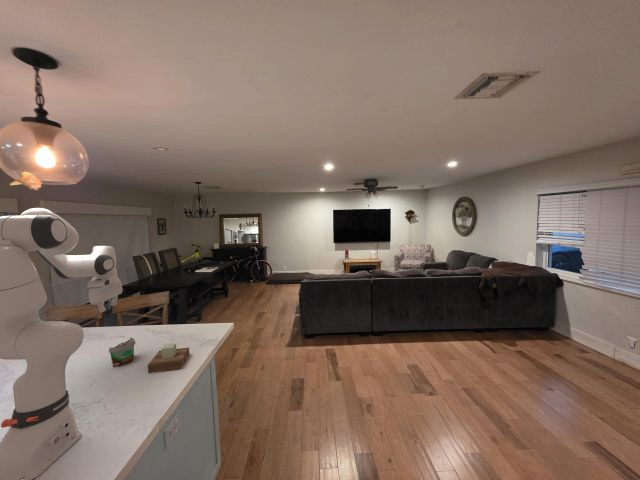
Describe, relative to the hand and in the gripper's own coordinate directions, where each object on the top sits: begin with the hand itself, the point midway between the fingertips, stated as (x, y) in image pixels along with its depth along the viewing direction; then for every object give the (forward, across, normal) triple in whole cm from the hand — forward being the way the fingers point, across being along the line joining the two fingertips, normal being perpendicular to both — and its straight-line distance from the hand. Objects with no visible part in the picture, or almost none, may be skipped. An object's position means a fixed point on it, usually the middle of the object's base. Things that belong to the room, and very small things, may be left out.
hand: (108, 308), depth 126 cm
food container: (+29, -4, +4) cm, 30 cm away
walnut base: (+29, +3, +26) cm, 39 cm away
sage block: (+25, +3, +26) cm, 36 cm away
